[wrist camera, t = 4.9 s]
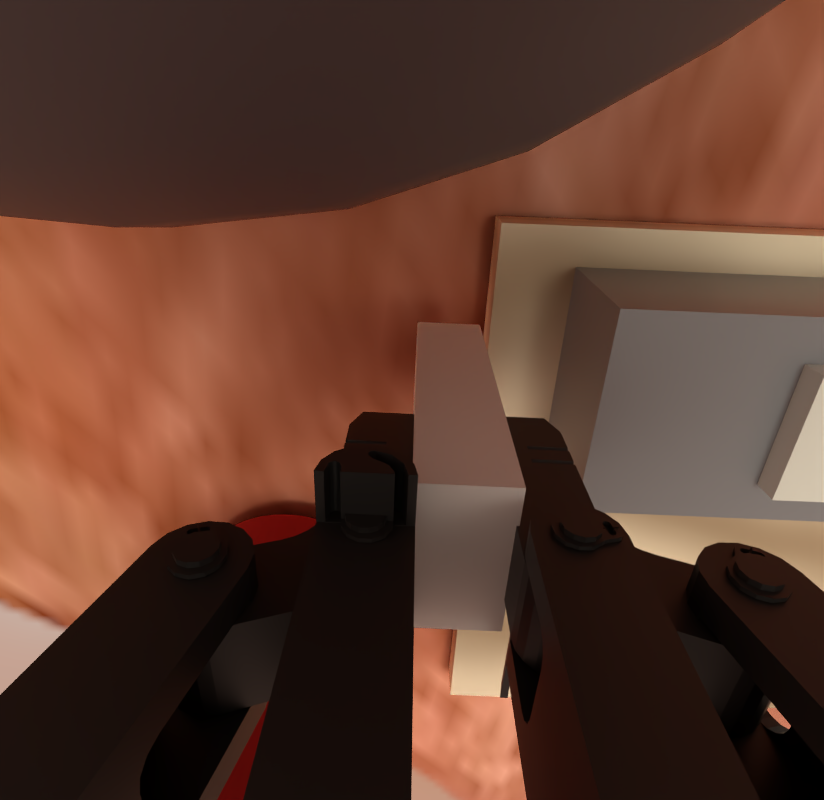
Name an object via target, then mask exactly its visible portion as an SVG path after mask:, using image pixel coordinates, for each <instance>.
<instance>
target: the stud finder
mask: <svg viewBox="0 0 824 800" xmlns="http://www.w3.org/2000/svg"><path fill="white" fill-rule="evenodd" d="M549 423H550V424H551V425H553V426H554V427H555V428H556V429H557V430H559V431H560V432H561V434H562V436H563V438H564V441H565V443H566V445H567V447H568V451H569V452H570V454H571V456H572V459H573V461H574V465H576V468H577V470H578V472H579V474H580V476H581V479H582V481H583V483H584V485H585V488H586V490H587V492H588V494H589V497H590V499H591V501H592V503H593V506H594V508H595V509H596V510H599V511H601V512H604V513H624V514H648V515H672V516H696V517H720V518H744V519H768V520H792V521H816V522H824V278H823V277H800V276H776V275H753V274H729V273H705V272H682V271H658V270H634V269H611V268H587V267H576V269H575V275H574V280H573V286H572V292H571V298H570V303H569V309H568V315H567V320H566V326H565V332H564V338H563V343H562V349H561V355H560V361H559V366H558V372H557V378H556V383H555V389H554V395H553V401H552V406H551V412H550V418H549Z"/></svg>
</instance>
